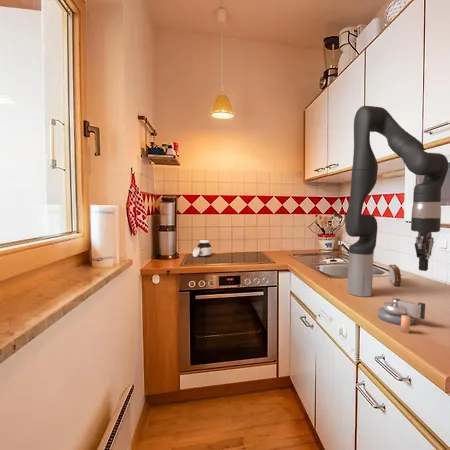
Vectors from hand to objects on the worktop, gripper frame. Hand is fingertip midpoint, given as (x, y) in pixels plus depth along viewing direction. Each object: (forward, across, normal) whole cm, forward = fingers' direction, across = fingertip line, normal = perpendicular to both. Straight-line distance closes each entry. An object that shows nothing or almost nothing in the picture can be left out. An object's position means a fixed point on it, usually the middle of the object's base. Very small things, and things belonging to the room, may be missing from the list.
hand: (423, 270), depth 88 cm
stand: (+16, +8, -4) cm, 18 cm away
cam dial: (+14, +6, -3) cm, 15 cm away
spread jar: (+16, -15, -136) cm, 138 cm away
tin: (+16, -41, -20) cm, 48 cm away
